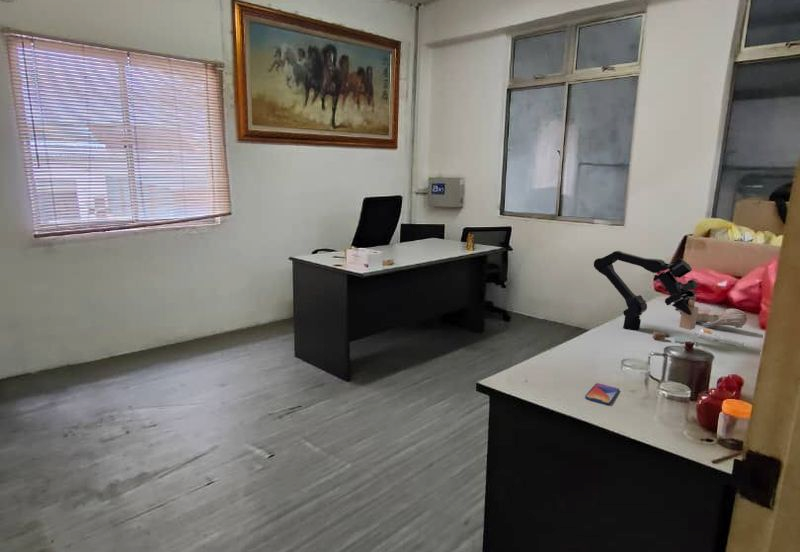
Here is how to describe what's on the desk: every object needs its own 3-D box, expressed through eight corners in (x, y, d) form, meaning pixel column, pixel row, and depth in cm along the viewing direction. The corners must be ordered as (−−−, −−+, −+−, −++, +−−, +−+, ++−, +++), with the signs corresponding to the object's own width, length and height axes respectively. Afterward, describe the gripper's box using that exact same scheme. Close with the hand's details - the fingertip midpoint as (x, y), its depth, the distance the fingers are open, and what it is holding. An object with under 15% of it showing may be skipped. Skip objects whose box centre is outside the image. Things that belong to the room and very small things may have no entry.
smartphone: (619, 391, 158) (620, 388, 158) (609, 406, 146) (609, 403, 146) (596, 385, 162) (596, 382, 162) (583, 399, 150) (584, 396, 150)
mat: (674, 342, 213) (675, 340, 212) (674, 337, 220) (674, 336, 220) (696, 346, 209) (696, 344, 209) (694, 341, 216) (694, 339, 216)
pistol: (748, 343, 218) (742, 348, 211) (698, 332, 233) (690, 336, 225) (749, 338, 218) (743, 343, 210) (699, 327, 232) (691, 331, 224)
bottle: (679, 327, 214) (684, 296, 211) (683, 325, 216) (689, 295, 214) (690, 329, 210) (696, 298, 207) (694, 328, 213) (700, 297, 210)
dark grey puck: (654, 335, 221) (654, 335, 221) (654, 332, 227) (654, 331, 227) (669, 338, 219) (669, 337, 219) (668, 334, 224) (668, 334, 224)
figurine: (673, 327, 250) (743, 339, 229) (672, 307, 246) (743, 316, 225) (680, 317, 258) (749, 327, 236) (680, 297, 254) (750, 305, 232)
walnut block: (654, 340, 215) (655, 333, 214) (652, 337, 219) (653, 331, 218) (664, 341, 214) (665, 335, 213) (662, 339, 217) (663, 332, 217)
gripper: (677, 275, 206) (700, 306, 200) (695, 272, 217) (718, 301, 211) (655, 289, 214) (677, 320, 207) (674, 285, 225) (695, 314, 219)
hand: (693, 314), depth 211 cm, fingers closed on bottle, 5 cm apart
